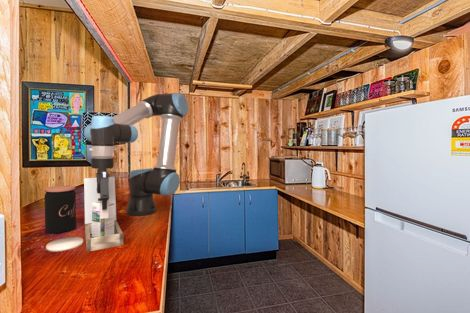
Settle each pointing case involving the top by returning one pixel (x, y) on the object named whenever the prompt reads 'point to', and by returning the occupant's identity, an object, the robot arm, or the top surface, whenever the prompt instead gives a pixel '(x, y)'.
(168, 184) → the robot arm
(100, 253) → the top surface
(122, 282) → the top surface
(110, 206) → the syrup box
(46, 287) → the top surface
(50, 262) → the top surface
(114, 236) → the box
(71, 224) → the coffee jar
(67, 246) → the saucer
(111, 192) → the lid
